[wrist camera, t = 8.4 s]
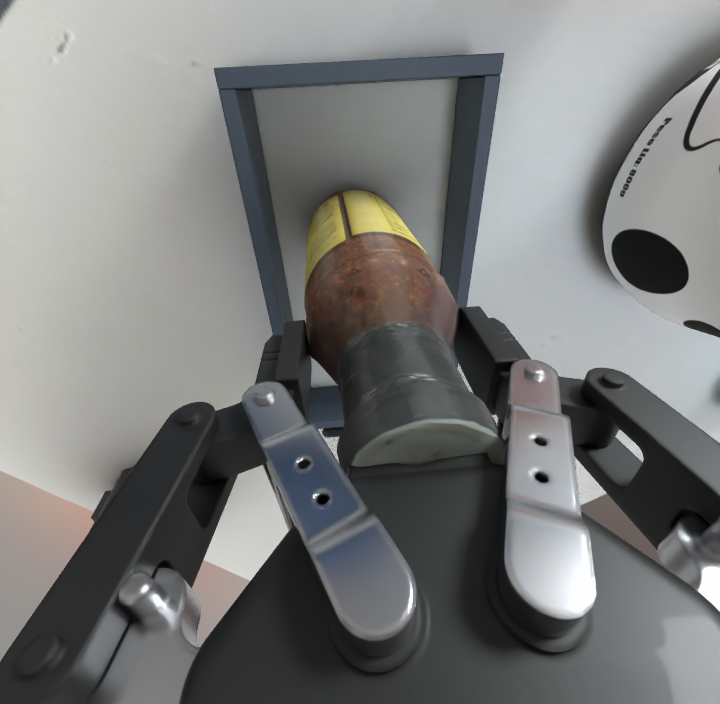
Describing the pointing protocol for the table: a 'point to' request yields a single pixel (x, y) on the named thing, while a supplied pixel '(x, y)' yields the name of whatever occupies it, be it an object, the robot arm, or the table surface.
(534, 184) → the table surface
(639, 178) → the milk container
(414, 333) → the sauce bottle
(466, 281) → the grey tray
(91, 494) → the table surface
